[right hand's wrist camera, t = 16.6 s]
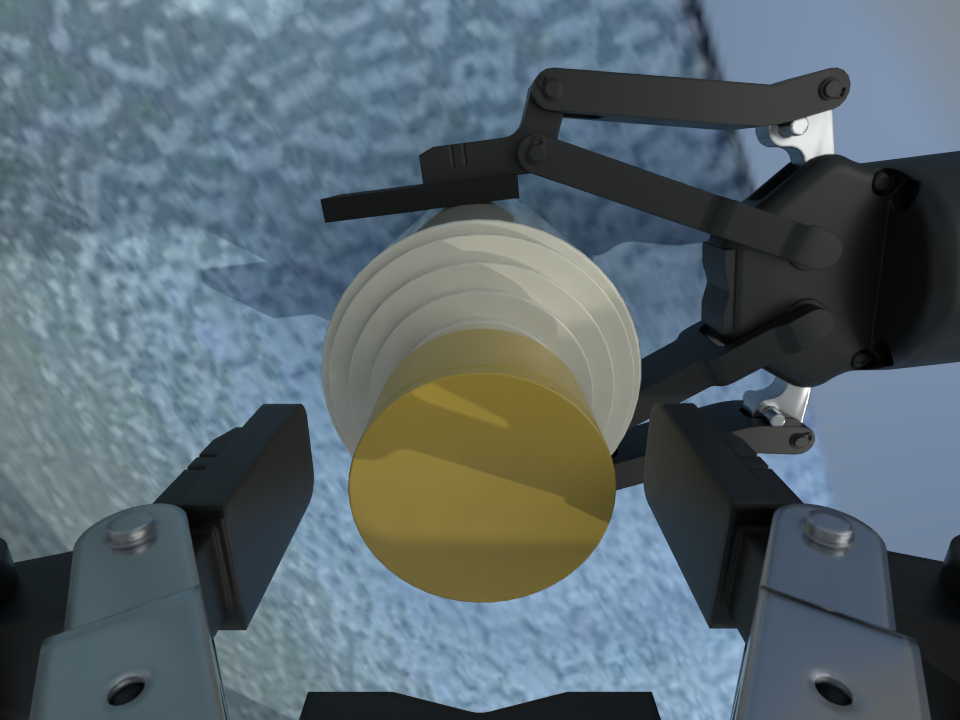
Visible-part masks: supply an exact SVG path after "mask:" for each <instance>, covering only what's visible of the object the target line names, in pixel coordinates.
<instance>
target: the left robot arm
mask: <svg viewBox="0 0 960 720" xmlns="http://www.w3.org/2000/svg"><path fill="white" fill-rule="evenodd" d="M849 90H850V80H849V76H848V75H847V73H846V72H845V71H844V70H842V69H839V68H829V69H825V70H822V71H818V72H814V73H810V74H806V75H803V76H799V77H795V78H791V79H787V80H784V81H781V82H777V83H774V84H771V85H767V84H755V83H742V82H729V81H717V80H704V79H692V78H679V77H666V76H654V75H641V74H628V73H616V72H603V71H590V70H578V69H565V68H548V69H545V70H544V71H542V72H541V73H539V75H538V76H537V77H536V79H535V80H534V82H533V83H532V85H531V86H530V88H529V89H528V93H527V99H526V103H525V107H524V112H523V116H522V120H521V123H520V126H519V127H518V129H517V131H516V132H515V133H514V134H512V135H510V136H508V137H504V138H498V139H491V140H483V141H476V142H468V143H460V144H453V145H445V146H438V147H432V148H431V149H429V150H427V151H426V152H424V153H422V154H421V155H419V158H420V165H421V171H422V178H423V184H419V185H411V186H403V187H396V188H388V189H380V190H372V191H365V192H357V193H349V194H341V195H337V196H333V197H329V198H324V199H320V200H321V205H322V209H323V214H324V219H325V223H327V222H335V221H343V220H351V219H358V218H366V217H374V216H382V215H390V214H398V213H406V212H414V211H421V210H429V209H437V208H445V207H453V206H460V205H468V204H476V203H484V202H492V201H500V200H508V199H516V198H519V189H518V178H517V175H520V174H528V173H532V174H535V175H538V176H541V177H544V178H547V179H550V180H553V181H555V182H558V183H561V184H564V185H567V186H570V187H573V188H576V189H579V190H582V191H585V192H588V193H591V194H594V195H596V196H599V197H602V198H605V199H608V200H611V201H614V202H617V203H620V204H623V205H626V206H629V207H632V208H635V209H637V210H640V211H643V212H646V213H649V214H652V215H655V216H658V217H661V218H664V219H667V220H670V221H673V222H676V223H678V224H681V225H684V226H687V227H690V228H693V229H696V230H699V231H702V232H705V233H707V234H710V238H709V241H707V242H703V254H702V262H703V266H704V270H705V274H706V277H707V285H706V288H705V292H704V295H703V299H702V316H701V321H699V322H698V323H696V324H694V325H692V326H690V327H689V328H687V329H685V330H684V331H682V332H681V333H680V334H679V336H678V338H677V339H676V340H675V341H674V342H672V343H670V344H668V345H667V346H665V347H663V348H661V349H659V350H657V351H656V352H654V353H652V354H650V355H648V356H646V357H645V358H643V359H641V383H640V390H639V397H638V401H637V404H636V408H635V411H634V415H633V418H632V420H631V422H630V424H629V427H628V429H627V431H626V433H625V435H624V437H623V439H622V440H621V442H620V443H619V445H618V447H617V448H616V450H615V451H614V453H613V454H612V455H611V457H612V461H613V465H614V470H615V479H616V490H619V489H623V488H627V487H630V486H634V485H638V484H641V483H644V482H643V472H644V463H645V454H646V446H647V437H648V429H649V422H647V423H644V424H640V423H642V422H644V421H646V420H648V419H650V413H651V410H652V407H653V405H654V404H656V403H680V402H682V401H684V400H686V399H688V398H690V397H691V396H693V395H695V394H697V393H699V392H701V391H703V390H705V389H707V388H709V387H711V386H725V385H729V384H732V383H734V382H736V381H738V380H740V379H741V378H743V377H745V376H747V375H749V374H751V373H753V372H755V371H757V370H759V369H761V368H762V369H764V370H766V371H768V372H769V373H771V374H773V375H775V376H776V377H775V379H774V381H773V382H772V384H771V385H770V386H768V387H767V388H765V389H761V390H757V391H753V390H749V391H746V392H745V393H744V395H743V400H733V401H725V402H719V403H715V404H711V405H707V406H704V407H700V408H698V409H699V410H700V411H701V412H702V413H703V414H704V415H705V417H706V418H707V419H708V420H709V421H710V422H711V423H712V425H713V426H714V427H722V428H724V429H726V430H728V431H729V432H731V433H733V434H735V435H737V436H738V437H740V438H742V439H743V440H744V441H745V442H746V443H747V444H748V445H749V446H750V447H751V448H752V449H753V450H754V451H755V452H756V453H768V454H802V453H804V452H806V451H808V450H809V449H810V448H811V447H812V445H813V443H814V441H815V435H814V433H813V431H812V430H811V429H809V428H808V427H807V426H806V425H804V424H803V419H804V416H805V412H806V408H807V404H808V400H809V397H810V393H811V389H812V387H815V386H818V385H821V384H823V383H825V382H827V381H828V380H830V379H832V378H833V377H835V376H837V375H840V374H842V373H845V372H848V371H853V370H889V369H899V368H908V367H917V366H926V365H935V364H944V363H953V362H960V151H955V152H947V153H940V154H932V155H924V156H916V157H908V158H900V159H892V160H884V161H877V162H869V163H857V162H854V161H852V160H850V159H848V158H846V157H844V156H841V155H837V154H835V149H834V132H833V115H832V109H834V108H836V107H838V106H840V105H841V103H843V101H844V100H845V99H846V97H847V95H848V93H849ZM562 118H571V119H584V120H597V121H610V122H623V123H636V124H649V125H662V126H675V127H688V128H701V129H714V130H736V129H745V128H754V127H756V131H755V132H756V136H757V139H758V140H759V142H760V143H761V144H762V145H764V146H766V147H780V148H783V149H784V150H786V151H787V153H788V154H789V156H790V160H791V162H790V163H788V164H787V165H786V166H785V167H783V168H782V169H781V170H780V171H779V172H777V173H776V174H775V175H774V176H773V177H771V178H770V179H769V180H768V181H767V182H765V183H764V184H763V185H762V186H761V187H760V188H758V189H757V190H756V191H755V192H754V193H752V194H751V195H750V196H749V197H748V198H746V199H745V200H744V201H743V202H742V203H741V202H738V201H735V200H732V199H728V198H725V197H721V196H718V195H715V194H712V193H709V192H706V191H703V190H700V189H697V188H694V187H692V186H689V185H686V184H683V183H680V182H677V181H674V180H672V179H669V178H666V177H663V176H660V175H657V174H654V173H652V172H649V171H646V170H643V169H640V168H637V167H634V166H632V165H629V164H626V163H623V162H620V161H617V160H615V159H612V158H609V157H606V156H603V155H600V154H597V153H595V152H592V151H589V150H586V149H583V148H580V147H577V146H575V145H572V144H569V143H566V142H563V141H560V140H557V137H558V133H559V129H560V125H561V121H562ZM722 345H724V346H722ZM638 424H640V425H638ZM636 425H637V426H636Z"/></svg>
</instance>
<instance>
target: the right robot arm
mask: <svg viewBox="0 0 960 720" xmlns="http://www.w3.org/2000/svg"><path fill="white" fill-rule="evenodd" d="M643 482H644V491H645V495H646V499H647V502H648V504H649V506H650V508H651V510H652V512H653V514H654V516H655V518H656V520H657V522H658V524H659V526H660V528H661V530H662V532H663V534H664V536H665V539H666V541H667V543H668V545H669V547H670V549H671V551H672V553H673V555H674V557H675V559H676V561H677V563H678V565H679V567H680V569H681V571H682V573H683V575H684V577H685V579H686V581H687V583H688V585H689V587H690V589H691V591H692V593H693V595H694V598H695V600H696V602H697V604H698V606H699V608H700V610H701V612H702V614H703V616H704V618H705V620H706V622H707V624H708V626H709V628H737V629H738V631H739V632H740V634H741V636H742V638H743V640H744V642H745V647H744V652H743V657H742V662H741V667H740V672H739V677H738V682H737V687H736V692H735V697H734V702H733V707H732V712H731V717H730V720H960V535H958V536H956V537H955V538H953V540H952V541H951V543H950V546H949V549H948V551H947V554H946V557H945V560H944V562H942V561H937V560H932V559H927V558H921V557H916V556H911V555H906V554H901V553H895V552H891V551H887V549H886V546H885V543H884V541H883V540H882V538H881V537H880V536H879V535H878V534H877V533H876V532H875V531H874V530H873V529H872V528H870V527H869V526H868V525H866V524H865V523H863V522H861V521H860V520H858V519H856V518H854V517H852V516H850V515H848V514H846V513H843V512H840V511H838V510H835V509H831V508H828V507H824V506H820V505H813V504H804V503H803V502H802V501H801V500H800V499H799V498H798V497H797V496H796V495H795V494H794V492H793V491H792V490H791V489H790V488H789V487H788V486H787V485H786V484H785V483H784V482H783V481H782V480H781V479H780V478H779V477H778V476H777V475H776V473H775V472H774V471H773V470H772V469H768V465H767V464H766V463H765V462H764V461H763V460H762V459H761V458H760V457H757V453H756V452H755V451H754V450H753V449H752V448H751V447H750V446H749V445H748V444H747V443H746V442H745V441H744V440H743V439H742V438H740V437H738V436H737V435H735V434H733V433H731V432H729V431H728V430H726V429H724V428H722V427H714V426H713V425H712V423H711V422H710V421H709V420H708V419H707V418H706V417H705V415H704V414H703V413H702V412H701V411H700V410H699V409H698V408H697V406H696V405H695V404H693V403H656V404H654V405H653V407H652V410H651V413H650V420H649V429H648V437H647V446H646V454H645V463H644V472H643ZM313 485H314V471H313V462H312V454H311V446H310V437H309V429H308V421H307V414H306V410H305V408H304V406H303V405H302V404H263V405H262V406H261V407H260V408H259V409H258V410H257V411H256V412H255V414H254V415H253V416H252V417H251V418H250V419H249V420H248V421H247V422H246V424H245V425H244V426H243V427H236V428H234V429H232V430H230V431H229V432H227V433H225V434H223V435H221V436H220V437H218V438H216V439H214V440H213V441H212V442H211V443H210V444H209V445H208V446H207V447H206V448H205V449H204V450H203V451H202V452H201V453H200V456H199V457H197V458H196V459H195V460H194V461H193V462H192V463H191V464H190V465H189V466H188V470H184V471H183V472H182V473H181V474H180V475H179V476H178V478H177V479H176V480H175V481H174V482H173V483H172V484H171V485H170V486H169V487H168V488H167V489H166V490H165V491H164V492H163V493H162V494H161V495H160V496H159V497H158V498H157V499H156V501H155V502H154V503H153V504H147V505H140V506H136V507H132V508H129V509H125V510H122V511H120V512H117V513H114V514H112V515H110V516H108V517H106V518H104V519H102V520H100V521H99V522H97V523H95V524H94V525H92V526H91V527H90V528H88V529H87V530H86V531H85V532H84V533H83V534H82V535H81V536H80V537H79V538H78V540H77V541H76V543H75V546H74V549H73V551H71V552H67V553H62V554H57V555H51V556H46V557H41V558H36V559H31V560H26V561H21V562H16V563H14V562H13V560H12V557H11V554H10V551H9V549H8V546H7V543H6V542H5V540H4V539H2V538H0V720H230V717H229V712H228V707H227V702H226V697H225V692H224V687H223V682H222V677H221V672H220V667H219V662H218V657H217V652H216V647H215V643H214V637H215V635H216V633H217V631H218V630H246V629H247V627H248V625H249V623H250V621H251V619H252V617H253V615H254V613H255V611H256V609H257V607H258V605H259V603H260V601H261V599H262V597H263V595H264V593H265V591H266V589H267V587H268V585H269V583H270V581H271V579H272V577H273V575H274V573H275V571H276V569H277V567H278V565H279V563H280V561H281V559H282V557H283V555H284V553H285V551H286V549H287V547H288V545H289V543H290V541H291V539H292V537H293V535H294V533H295V531H296V529H297V527H298V525H299V523H300V521H301V519H302V517H303V515H304V513H305V511H306V509H307V507H308V505H309V503H310V500H311V497H312V492H313ZM299 720H661V719H660V716H659V713H658V709H657V706H656V703H655V700H654V697H653V694H652V692H565V693H561V694H557V695H553V696H549V697H545V698H541V699H537V700H534V701H530V702H526V703H522V704H518V705H514V706H510V707H506V708H502V709H498V710H494V711H490V712H485V713H475V712H470V711H466V710H462V709H458V708H454V707H450V706H446V705H442V704H438V703H434V702H430V701H426V700H423V699H419V698H415V697H411V696H407V695H403V694H399V693H395V692H308V694H307V697H306V700H305V703H304V706H303V709H302V713H301V716H300V719H299Z"/></svg>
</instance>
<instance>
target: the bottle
mask: <svg viewBox="0 0 960 720" xmlns="http://www.w3.org/2000/svg"><path fill="white" fill-rule="evenodd" d="M469 329H494V330H503V331H507V332H511V333H515V334H519V335H521V336H524V337H526V338H529V339H532V340H533V341H535V342H537V343H539V344H541V345H542V346H544V347H546V348H547V349H548V350H550V351H551V352H552V353H554V354H555V355H556V356H557V357H558V358H559V359H560V360H562V361H563V362H564V363H565V364H566V366H567V367H568V368H569V369H570V371H571V372H572V373H573V375H574V376H575V378H576V379H577V381H578V383H579V385H580V386H581V388H582V391H583V393H584V395H585V397H586V400H587V402H588V404H589V406H590V408H591V411H592V413H593V415H594V417H595V420H596V422H597V424H598V426H599V428H600V431H601V433H602V435H603V437H604V439H605V442H606V444H607V447H608V449H609V452H610V454H611V455H612V454H613V453H614V451H615V450H616V448H617V447H618V445H619V443H620V442H621V440H622V439H623V437H624V435H625V433H626V431H627V429H628V427H629V424H630V422H631V420H632V418H633V415H634V411H635V408H636V404H637V401H638V397H639V390H640V383H641V353H640V346H639V339H638V336H637V332H636V329H635V325H634V322H633V319H632V317H631V314H630V312H629V310H628V308H627V306H626V303H625V301H624V300H623V298H622V296H621V295H620V293H619V292H618V290H617V289H616V287H615V285H614V284H613V283H612V281H611V280H610V279H609V278H608V277H607V276H606V274H605V273H604V272H603V271H602V270H601V269H600V267H599V266H597V265H596V264H595V263H594V262H593V261H592V260H591V259H589V258H588V257H587V256H586V255H585V254H584V253H583V252H581V251H580V250H579V249H578V248H577V247H576V246H574V245H573V244H572V243H571V242H570V241H569V240H568V239H566V238H565V237H564V236H563V235H562V234H561V233H559V232H558V231H557V230H556V229H555V228H554V227H552V226H551V225H550V224H549V223H548V222H547V221H546V220H544V219H543V218H542V217H541V216H540V215H539V214H537V213H536V212H535V211H534V210H533V209H531V208H530V207H528V206H527V205H525V204H524V203H522V202H520V201H518V200H516V199H508V200H500V201H492V202H484V203H476V204H468V205H460V206H453V207H445V208H437V209H430V210H428V211H427V212H426V213H424V214H423V215H422V216H421V217H420V218H419V219H418V220H416V221H415V222H414V223H413V224H412V225H411V226H410V227H408V228H407V229H406V230H405V231H404V232H403V233H402V234H401V235H399V236H398V237H397V238H396V239H395V240H394V241H393V242H391V243H390V244H389V245H388V246H387V247H386V248H385V249H384V250H382V251H381V252H380V253H379V254H378V255H377V256H376V257H374V258H373V259H372V260H371V261H370V262H369V263H368V264H367V265H366V266H365V267H364V268H363V269H362V270H361V271H360V272H359V273H358V274H357V275H356V277H355V278H354V279H353V281H352V282H351V283H350V285H349V286H348V287H347V289H346V290H345V291H344V293H343V295H342V297H341V299H340V301H339V302H338V304H337V306H336V308H335V310H334V312H333V315H332V318H331V320H330V323H329V326H328V328H327V332H326V337H325V342H324V346H323V355H322V382H323V390H324V395H325V400H326V405H327V408H328V411H329V414H330V417H331V419H332V422H333V425H334V427H335V429H336V431H337V433H338V435H339V437H340V439H341V440H342V442H343V444H344V445H345V447H346V448H347V450H348V451H349V452H350V454H351V455H352V457H353V456H354V453H355V450H356V448H357V445H358V443H359V440H360V438H361V436H362V434H363V431H364V429H365V427H366V424H367V422H368V420H369V418H370V415H371V413H372V411H373V408H374V406H375V404H376V402H377V399H378V397H379V395H380V392H381V390H382V388H383V386H384V384H385V383H386V381H387V379H388V377H389V376H390V374H391V373H392V372H393V370H394V369H395V368H396V366H397V365H398V364H399V363H400V362H401V361H402V360H403V359H404V358H405V357H406V356H407V355H409V354H410V353H411V352H413V351H414V350H415V349H417V348H418V347H420V346H421V345H423V344H425V343H427V342H428V341H430V340H433V339H435V338H437V337H440V336H442V335H445V334H449V333H453V332H456V331H462V330H469Z"/></svg>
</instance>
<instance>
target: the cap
mask: <svg viewBox="0 0 960 720" xmlns="http://www.w3.org/2000/svg"><path fill="white" fill-rule="evenodd" d="M348 491H349V501H350V507H351V511H352V515H353V518H354V521H355V524H356V526H357V528H358V531H359V533H360V535H361V537H362V538H363V540H364V542H365V543H366V545H367V547H368V548H369V549H370V550H371V552H372V553H373V554H374V555H375V557H376V558H377V559H378V560H379V561H380V562H381V563H382V564H383V565H384V566H385V567H386V568H387V569H388V570H390V571H391V572H392V573H394V574H395V575H396V576H398V577H399V578H400V579H402V580H404V581H405V582H407V583H409V584H410V585H412V586H414V587H416V588H418V589H421V590H423V591H425V592H427V593H430V594H433V595H437V596H440V597H443V598H448V599H452V600H457V601H466V602H498V601H507V600H512V599H516V598H521V597H525V596H528V595H531V594H534V593H537V592H539V591H541V590H543V589H546V588H548V587H550V586H552V585H554V584H556V583H557V582H559V581H560V580H562V579H564V578H565V577H567V576H568V575H569V574H571V573H572V572H573V571H574V570H576V569H577V568H578V567H579V566H580V565H581V564H582V563H583V562H584V561H585V560H586V559H587V558H588V557H589V556H590V555H591V553H592V552H593V551H594V549H595V548H596V547H597V546H598V544H599V542H600V541H601V539H602V537H603V535H604V534H605V532H606V529H607V527H608V524H609V522H610V519H611V516H612V512H613V508H614V504H615V495H616V479H615V470H614V465H613V461H612V457H611V454H610V452H609V449H608V447H607V444H606V442H605V439H604V437H603V435H602V433H601V431H600V428H599V426H598V424H597V422H596V420H595V417H594V415H593V413H592V411H591V408H590V406H589V404H588V402H587V400H586V397H585V395H584V393H583V391H582V388H581V386H580V385H579V383H578V381H577V379H576V378H575V376H574V375H573V373H572V372H571V371H570V369H569V368H568V367H567V366H566V364H565V363H564V362H563V361H562V360H560V359H559V358H558V357H557V356H556V355H555V354H554V353H552V352H551V351H550V350H548V349H547V348H546V347H544V346H542V345H541V344H539V343H537V342H535V341H533V340H532V339H529V338H526V337H524V336H521V335H519V334H515V333H511V332H507V331H503V330H494V329H469V330H462V331H456V332H453V333H449V334H445V335H442V336H440V337H437V338H435V339H433V340H430V341H428V342H427V343H425V344H423V345H421V346H420V347H418V348H417V349H415V350H414V351H413V352H411V353H410V354H409V355H407V356H406V357H405V358H404V359H403V360H402V361H401V362H400V363H399V364H398V365H397V366H396V368H395V369H394V370H393V372H392V373H391V374H390V376H389V377H388V379H387V381H386V383H385V384H384V386H383V388H382V390H381V392H380V395H379V397H378V399H377V402H376V404H375V406H374V408H373V411H372V413H371V415H370V418H369V420H368V422H367V424H366V427H365V429H364V431H363V434H362V436H361V438H360V440H359V443H358V445H357V448H356V450H355V453H354V456H353V459H352V463H351V468H350V473H349V487H348Z"/></svg>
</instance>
